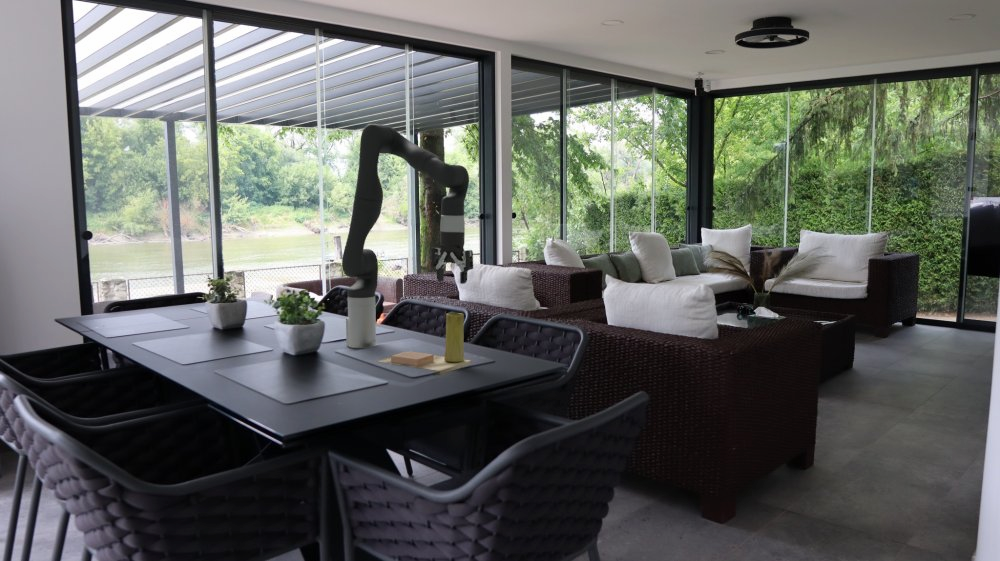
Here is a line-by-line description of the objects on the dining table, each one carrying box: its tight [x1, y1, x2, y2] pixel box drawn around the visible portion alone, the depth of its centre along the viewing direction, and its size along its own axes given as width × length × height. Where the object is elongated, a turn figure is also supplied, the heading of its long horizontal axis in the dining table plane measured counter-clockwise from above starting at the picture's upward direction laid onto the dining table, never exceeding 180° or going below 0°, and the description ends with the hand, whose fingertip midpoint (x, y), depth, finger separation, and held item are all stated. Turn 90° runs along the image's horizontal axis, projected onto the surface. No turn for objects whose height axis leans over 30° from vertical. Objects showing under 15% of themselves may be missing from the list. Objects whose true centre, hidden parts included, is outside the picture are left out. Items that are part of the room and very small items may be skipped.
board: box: [375, 355, 472, 376], centre depth 221 cm, size 24×16×1 cm, turn 59°
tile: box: [390, 350, 435, 366], centre depth 220 cm, size 2×8×10 cm
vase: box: [444, 312, 465, 362], centre depth 221 cm, size 6×6×14 cm
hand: (451, 282), depth 226 cm, fingers open, 8 cm apart
